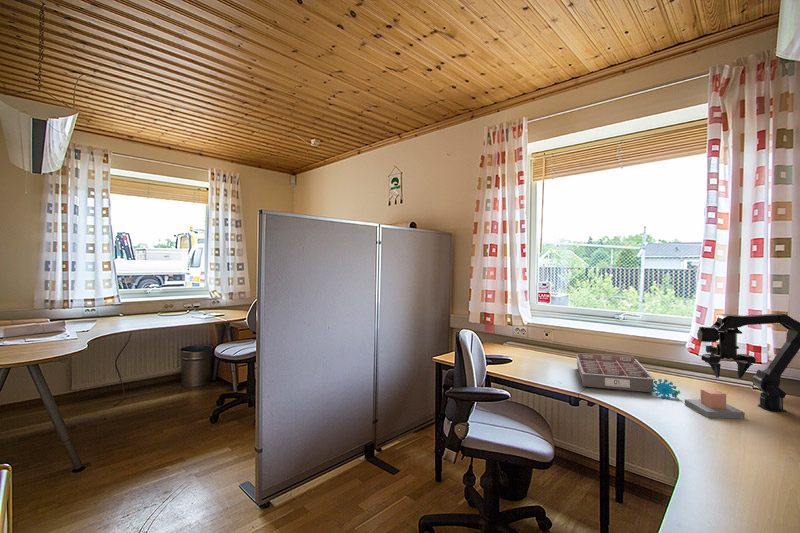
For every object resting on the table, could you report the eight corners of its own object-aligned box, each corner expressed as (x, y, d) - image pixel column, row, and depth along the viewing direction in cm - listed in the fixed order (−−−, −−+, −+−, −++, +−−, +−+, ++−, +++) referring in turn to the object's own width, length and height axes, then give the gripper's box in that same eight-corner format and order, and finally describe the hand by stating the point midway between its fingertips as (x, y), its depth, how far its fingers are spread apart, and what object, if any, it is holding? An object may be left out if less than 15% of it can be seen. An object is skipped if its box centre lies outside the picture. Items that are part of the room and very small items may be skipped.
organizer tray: (581, 389, 188) (581, 369, 188) (575, 368, 225) (575, 352, 225) (655, 396, 176) (655, 375, 176) (636, 372, 213) (636, 355, 213)
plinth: (718, 405, 163) (718, 399, 163) (744, 418, 149) (744, 412, 149) (684, 404, 164) (684, 399, 164) (707, 417, 150) (707, 411, 150)
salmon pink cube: (715, 403, 159) (715, 389, 159) (726, 408, 153) (726, 394, 153) (700, 402, 160) (700, 389, 160) (710, 408, 154) (710, 393, 154)
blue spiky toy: (649, 393, 175) (653, 375, 180) (649, 399, 178) (653, 381, 183) (678, 401, 168) (681, 382, 172) (677, 407, 171) (681, 389, 176)
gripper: (736, 339, 170) (736, 372, 170) (692, 339, 172) (693, 372, 172) (756, 344, 159) (757, 380, 159) (710, 344, 161) (710, 379, 161)
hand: (728, 377), depth 163 cm, fingers open, 9 cm apart
